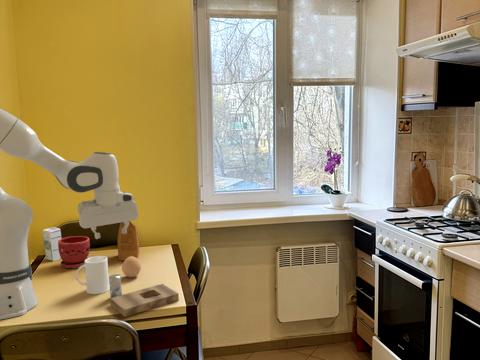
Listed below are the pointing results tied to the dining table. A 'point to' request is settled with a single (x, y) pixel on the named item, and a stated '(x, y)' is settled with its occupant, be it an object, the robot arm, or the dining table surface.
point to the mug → (96, 275)
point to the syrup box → (52, 243)
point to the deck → (143, 299)
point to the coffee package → (128, 242)
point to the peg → (115, 285)
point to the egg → (131, 267)
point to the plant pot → (74, 251)
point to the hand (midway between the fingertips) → (111, 235)
